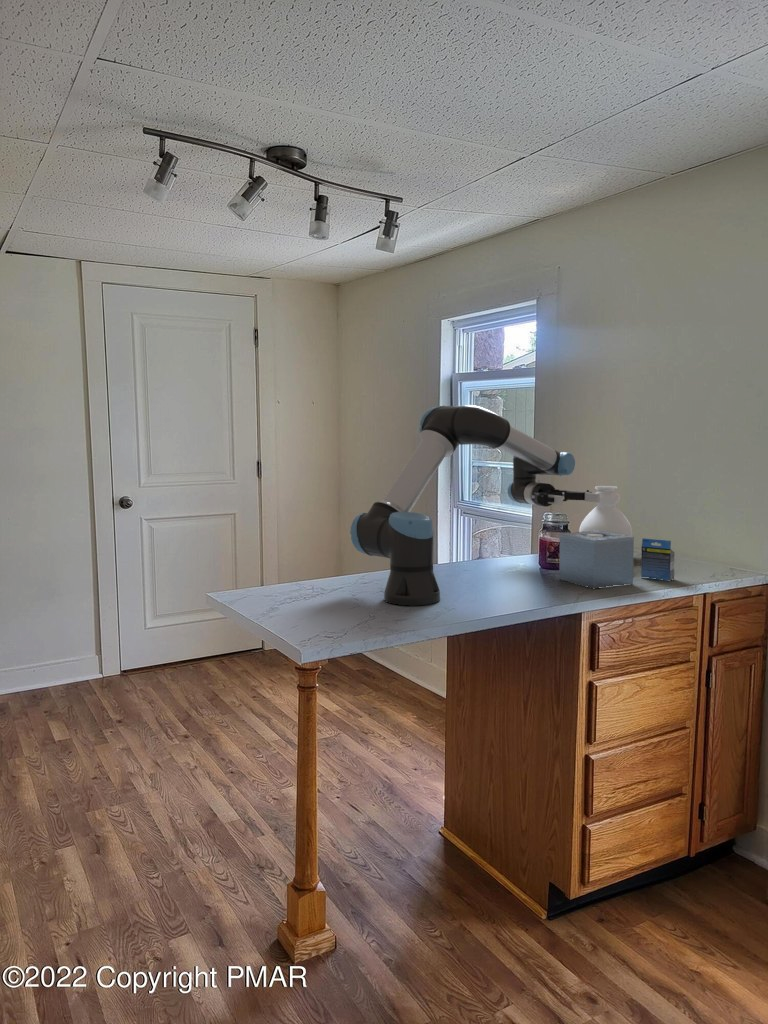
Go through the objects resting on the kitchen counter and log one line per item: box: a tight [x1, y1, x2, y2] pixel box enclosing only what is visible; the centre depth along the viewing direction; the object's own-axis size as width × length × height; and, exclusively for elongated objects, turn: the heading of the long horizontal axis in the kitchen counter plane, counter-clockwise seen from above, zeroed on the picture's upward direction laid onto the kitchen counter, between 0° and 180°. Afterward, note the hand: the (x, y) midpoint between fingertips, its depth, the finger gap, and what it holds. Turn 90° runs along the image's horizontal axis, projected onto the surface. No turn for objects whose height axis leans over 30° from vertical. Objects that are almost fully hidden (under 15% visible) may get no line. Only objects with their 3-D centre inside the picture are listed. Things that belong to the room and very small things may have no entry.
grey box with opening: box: [558, 530, 635, 588], centre depth 217 cm, size 14×16×14 cm
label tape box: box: [640, 537, 675, 582], centre depth 220 cm, size 9×4×12 cm, turn 50°
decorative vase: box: [578, 485, 633, 537], centre depth 258 cm, size 18×18×25 cm
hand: (580, 499), depth 222 cm, fingers open, 13 cm apart
